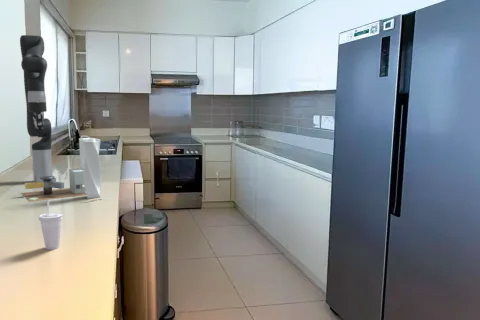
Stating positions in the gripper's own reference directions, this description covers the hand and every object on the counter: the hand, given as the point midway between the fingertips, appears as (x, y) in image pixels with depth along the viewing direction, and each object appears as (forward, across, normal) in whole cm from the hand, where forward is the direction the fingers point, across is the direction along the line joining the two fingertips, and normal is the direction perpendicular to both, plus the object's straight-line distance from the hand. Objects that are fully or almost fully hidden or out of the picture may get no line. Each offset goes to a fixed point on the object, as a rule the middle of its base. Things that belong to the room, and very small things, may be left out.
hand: (39, 136), depth 203 cm
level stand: (+25, +13, +13) cm, 31 cm away
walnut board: (+26, +13, +3) cm, 30 cm away
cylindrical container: (+26, +9, +19) cm, 34 cm away
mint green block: (+25, +21, -6) cm, 33 cm away
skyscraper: (+27, +27, +18) cm, 42 cm away
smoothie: (+28, +87, -5) cm, 91 cm away
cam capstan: (+25, +13, -1) cm, 28 cm away
